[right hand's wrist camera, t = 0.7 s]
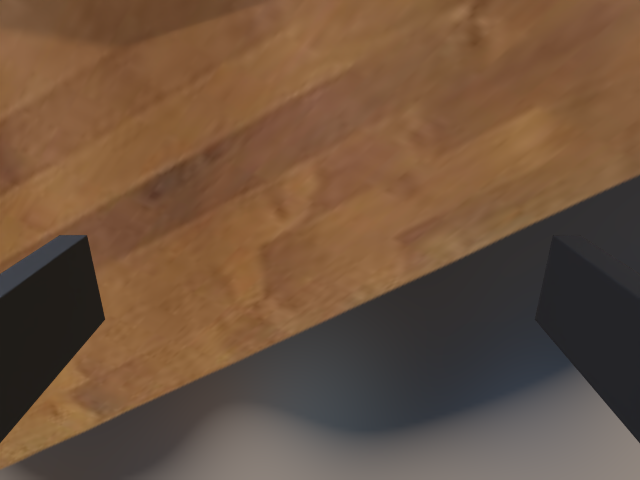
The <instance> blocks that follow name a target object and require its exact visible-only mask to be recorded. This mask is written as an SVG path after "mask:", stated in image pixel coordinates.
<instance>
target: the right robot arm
mask: <svg viewBox="0 0 640 480" xmlns="http://www.w3.org/2000/svg"><path fill="white" fill-rule="evenodd" d="M104 320H105V317H104V312H103V308H102V303H101V298H100V294H99V289H98V284H97V280H96V275H95V270H94V266H93V261H92V256H91V252H90V247H89V242H88V238H87V235H59V236H58V237H56V238H55V239H53V240H52V241H50V242H49V243H47V244H46V245H44V246H43V247H41V248H39V249H38V250H36V251H35V252H33V253H32V254H30V255H29V256H27V257H26V258H24V259H23V260H21V261H19V262H18V263H16V264H15V265H13V266H12V267H10V268H9V269H7V270H6V271H4V272H3V273H1V274H0V443H1V442H2V440H3V439H4V438H5V437H6V436H7V434H8V433H9V432H10V431H11V430H12V429H13V427H14V426H15V425H16V424H17V423H18V421H19V420H20V419H21V418H22V417H23V416H24V414H25V413H26V412H27V411H28V410H29V409H30V407H31V406H32V405H33V404H34V403H35V401H36V400H37V399H38V398H39V397H40V396H41V394H42V393H43V392H44V391H45V390H46V388H47V387H48V386H49V385H50V384H51V383H52V381H53V380H54V379H55V378H56V377H57V376H58V374H59V373H60V372H61V371H62V370H63V368H64V367H65V366H66V365H67V364H68V363H69V361H70V360H71V359H72V358H73V357H74V355H75V354H76V353H77V352H78V351H79V350H80V348H81V347H82V346H83V345H84V344H85V342H86V341H87V340H88V339H89V338H90V337H91V335H92V334H93V333H94V332H95V331H96V330H97V328H98V327H99V326H100V325H101V324H102V322H103V321H104ZM535 320H536V321H537V322H538V324H539V325H540V326H541V327H542V328H543V330H544V331H545V332H546V333H547V334H548V335H549V337H550V338H551V339H552V340H553V341H554V342H555V344H556V345H557V346H558V347H559V348H560V350H561V351H562V352H563V353H564V354H565V355H566V357H567V358H568V359H569V360H570V361H571V363H572V364H573V365H574V366H575V367H576V368H577V370H578V371H579V372H580V373H581V374H582V376H583V377H584V378H585V379H586V380H587V381H588V383H589V384H590V385H591V386H592V387H593V388H594V390H595V391H596V392H597V393H598V394H599V395H600V397H601V398H602V399H603V400H604V401H605V403H606V404H607V405H608V406H609V407H610V409H611V410H612V411H613V412H614V413H615V414H616V416H617V417H618V418H619V419H620V420H621V421H622V423H623V424H624V425H625V426H626V427H627V429H628V430H629V431H630V432H631V433H632V434H633V436H634V437H635V438H636V439H637V440H638V441H639V443H640V274H639V273H637V272H636V271H634V270H633V269H631V268H630V267H628V266H627V265H625V264H624V263H622V262H620V261H619V260H617V259H616V258H614V257H613V256H611V255H610V254H608V253H607V252H605V251H604V250H602V249H601V248H599V247H597V246H596V245H594V244H593V243H591V242H590V241H588V240H587V239H585V238H584V237H582V236H580V235H553V238H552V242H551V247H550V252H549V256H548V261H547V266H546V270H545V275H544V280H543V284H542V289H541V294H540V298H539V303H538V308H537V312H536V317H535Z"/></svg>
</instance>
